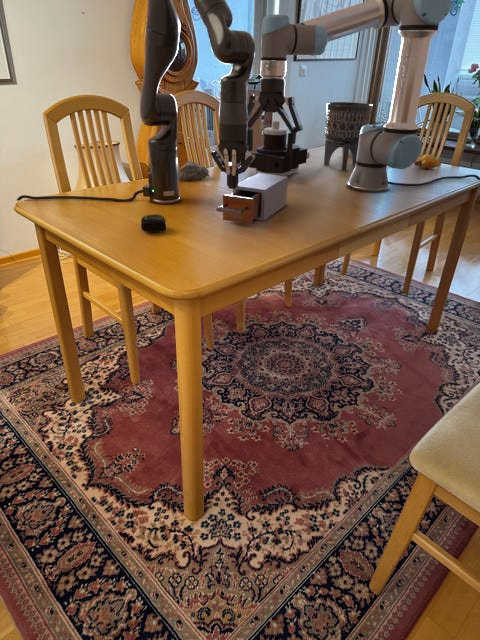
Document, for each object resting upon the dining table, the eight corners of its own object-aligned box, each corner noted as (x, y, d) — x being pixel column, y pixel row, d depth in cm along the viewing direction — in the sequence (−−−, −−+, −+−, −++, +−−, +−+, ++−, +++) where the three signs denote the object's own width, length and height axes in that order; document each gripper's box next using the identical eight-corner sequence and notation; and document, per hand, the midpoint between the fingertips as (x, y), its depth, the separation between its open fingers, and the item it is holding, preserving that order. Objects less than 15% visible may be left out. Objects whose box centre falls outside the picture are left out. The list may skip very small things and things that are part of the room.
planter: (313, 167, 208) (319, 103, 195) (331, 160, 222) (338, 101, 209) (353, 173, 199) (362, 107, 185) (369, 166, 213) (379, 104, 199)
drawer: (242, 230, 128) (243, 204, 125) (213, 225, 132) (213, 199, 128) (274, 208, 147) (275, 185, 143) (248, 204, 151) (248, 181, 147)
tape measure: (141, 234, 126) (140, 221, 124) (142, 226, 132) (141, 214, 130) (166, 233, 127) (165, 220, 125) (166, 225, 133) (165, 213, 131)
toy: (415, 162, 205) (409, 155, 218) (417, 175, 208) (411, 168, 221) (441, 154, 202) (433, 147, 215) (443, 168, 205) (435, 160, 218)
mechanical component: (240, 120, 182) (283, 115, 202) (239, 174, 192) (280, 164, 212) (283, 126, 170) (325, 120, 190) (280, 183, 180) (320, 171, 200)
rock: (201, 174, 190) (201, 158, 187) (214, 178, 185) (214, 162, 181) (174, 179, 183) (173, 162, 179) (187, 183, 177) (186, 166, 174)
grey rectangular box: (263, 221, 139) (264, 189, 134) (232, 215, 143) (232, 185, 138) (285, 205, 155) (287, 176, 150) (257, 200, 158) (258, 172, 154)
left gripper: (204, 120, 117) (205, 188, 126) (250, 124, 112) (248, 194, 121) (217, 118, 123) (217, 182, 132) (262, 121, 118) (259, 188, 127)
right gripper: (229, 76, 135) (228, 151, 146) (309, 79, 126) (302, 159, 137) (240, 75, 141) (238, 147, 152) (317, 78, 132) (310, 155, 143)
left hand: (232, 188), depth 127 cm, fingers closed
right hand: (269, 153), depth 144 cm, fingers open, 13 cm apart
